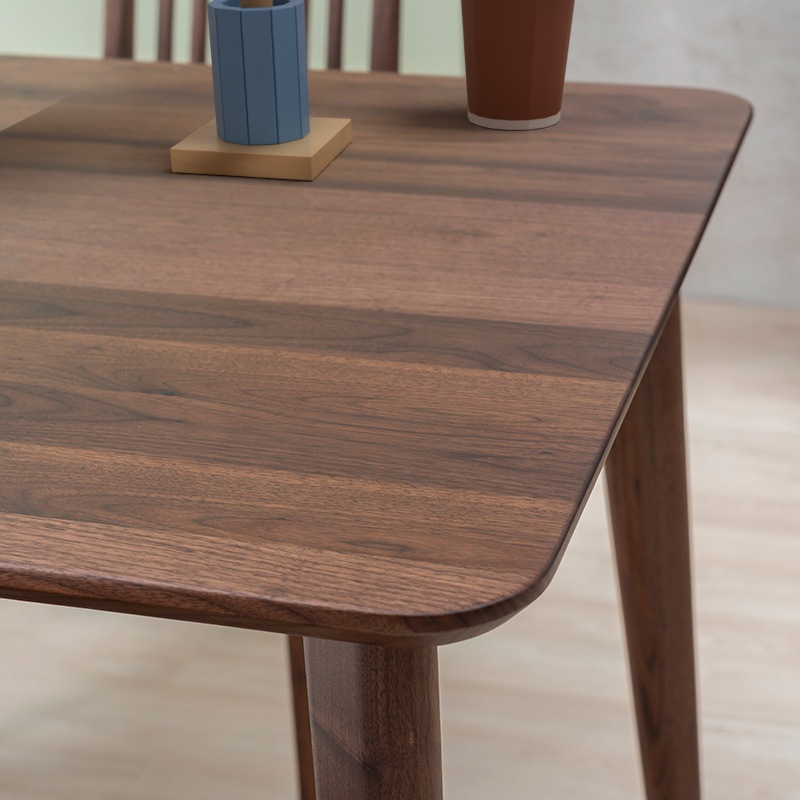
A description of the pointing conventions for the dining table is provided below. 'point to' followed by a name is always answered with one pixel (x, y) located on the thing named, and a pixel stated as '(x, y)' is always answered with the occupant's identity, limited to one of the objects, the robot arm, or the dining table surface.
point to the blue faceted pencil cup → (259, 71)
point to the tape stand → (262, 147)
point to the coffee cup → (515, 61)
